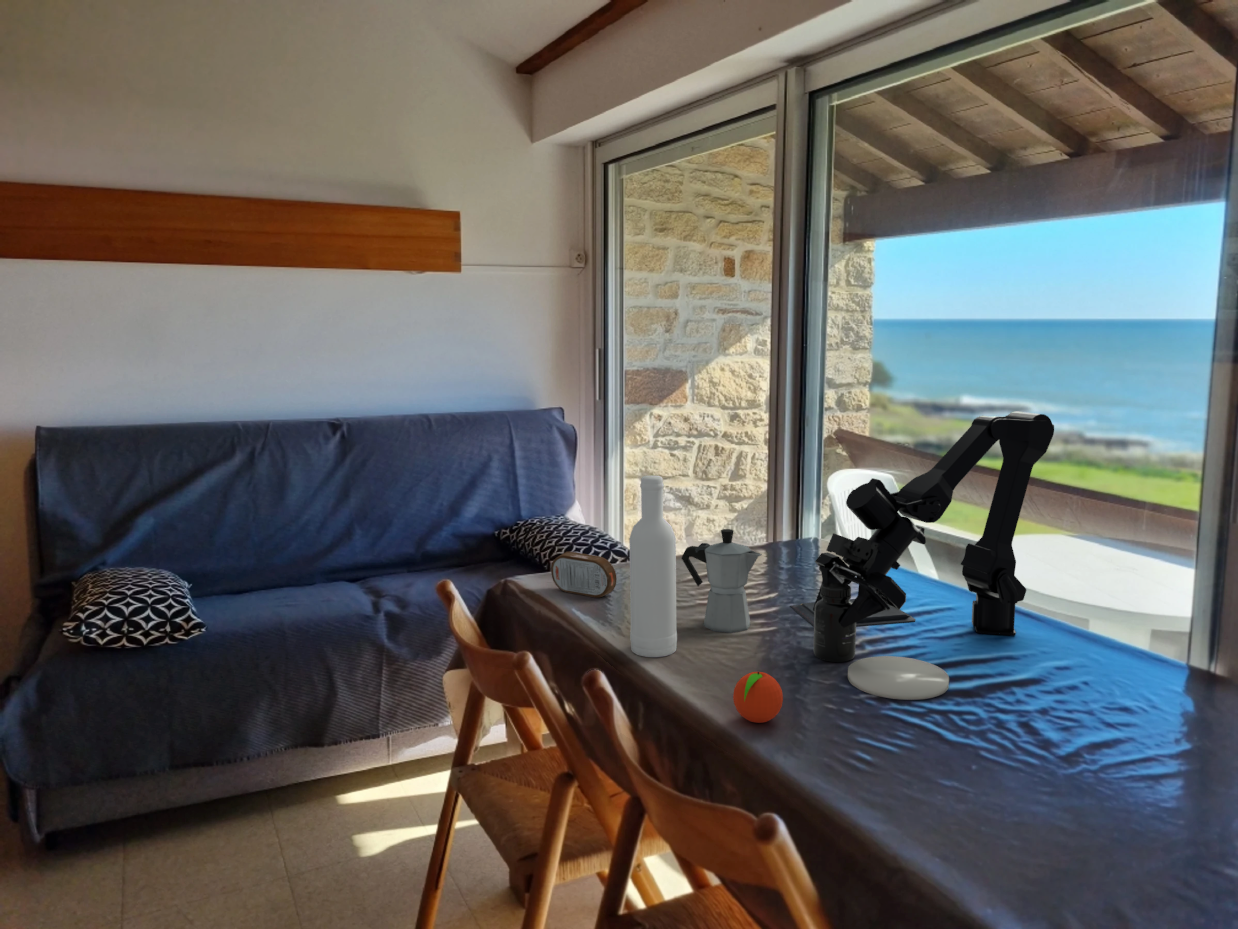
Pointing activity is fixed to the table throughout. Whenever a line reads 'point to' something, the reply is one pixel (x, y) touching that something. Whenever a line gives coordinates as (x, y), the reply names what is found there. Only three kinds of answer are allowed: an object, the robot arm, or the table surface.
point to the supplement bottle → (833, 624)
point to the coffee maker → (724, 581)
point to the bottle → (652, 576)
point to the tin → (583, 574)
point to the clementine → (758, 697)
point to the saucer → (898, 677)
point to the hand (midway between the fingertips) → (827, 618)
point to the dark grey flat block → (877, 619)
